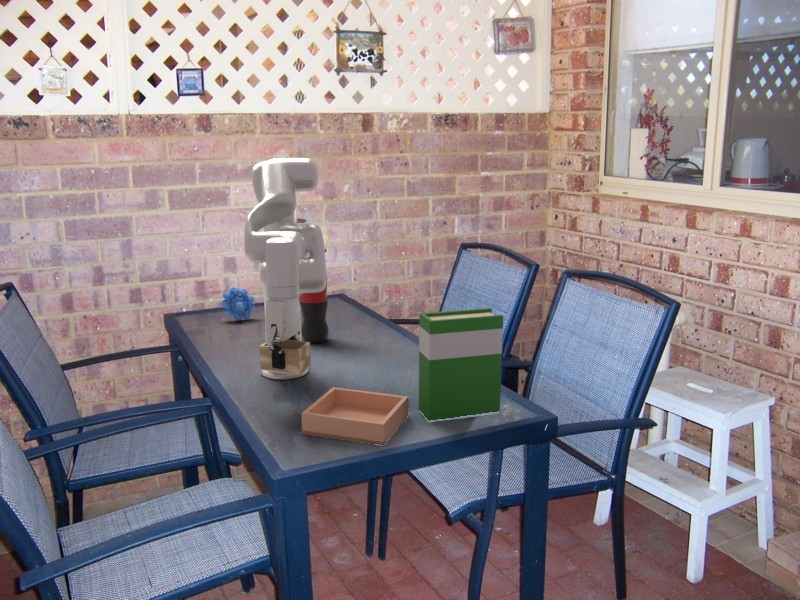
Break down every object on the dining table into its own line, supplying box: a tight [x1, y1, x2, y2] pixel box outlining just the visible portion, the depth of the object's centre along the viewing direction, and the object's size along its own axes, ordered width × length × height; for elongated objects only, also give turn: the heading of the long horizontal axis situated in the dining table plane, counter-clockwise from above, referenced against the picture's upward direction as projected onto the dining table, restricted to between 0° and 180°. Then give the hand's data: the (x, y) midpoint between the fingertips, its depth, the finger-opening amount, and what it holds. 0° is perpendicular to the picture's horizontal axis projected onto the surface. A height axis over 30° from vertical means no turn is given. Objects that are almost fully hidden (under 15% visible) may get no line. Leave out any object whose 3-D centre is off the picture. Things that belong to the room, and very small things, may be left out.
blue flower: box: [220, 286, 256, 322], centre depth 250 cm, size 12×7×12 cm, turn 114°
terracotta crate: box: [300, 386, 409, 446], centre depth 166 cm, size 17×19×5 cm
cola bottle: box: [299, 281, 329, 344], centre depth 227 cm, size 8×8×30 cm
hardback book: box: [418, 307, 504, 421], centre depth 171 cm, size 18×7×24 cm, turn 107°
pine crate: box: [259, 338, 312, 375], centre depth 175 cm, size 6×10×6 cm, turn 71°
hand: (285, 362), depth 176 cm, fingers closed on pine crate, 6 cm apart
